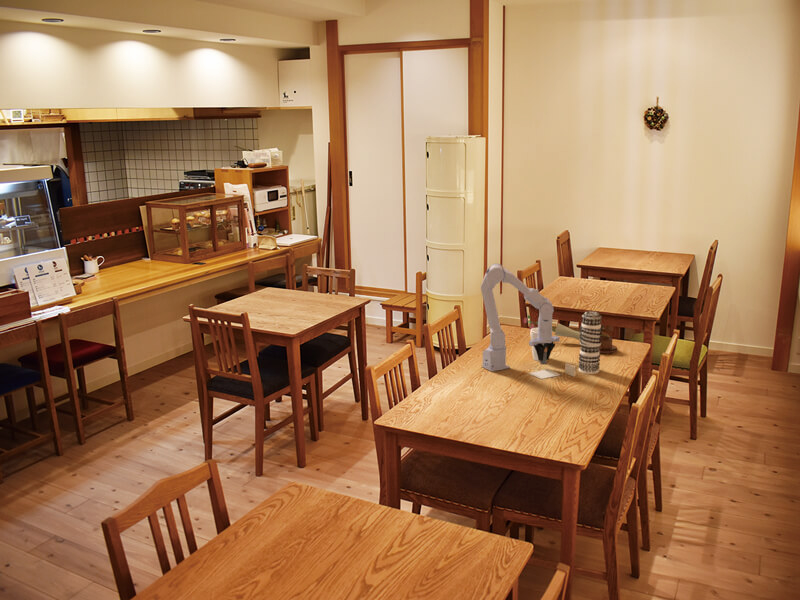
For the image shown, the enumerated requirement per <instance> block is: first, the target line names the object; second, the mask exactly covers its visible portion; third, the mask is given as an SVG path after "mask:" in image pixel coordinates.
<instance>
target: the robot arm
mask: <svg viewBox="0 0 800 600" xmlns="http://www.w3.org/2000/svg"><path fill="white" fill-rule="evenodd" d="M500 282H502V283H504V284H507V283H508V284H511V285H512V286H513V287H514V288H515V289H516V290H518V291H519V292H521V293H522V294H523V298H524V300H525V301H527V302H528V303H529V304H530V305H531V306H533V307H534V308H535V309H537V310H538V312H539V313H538V319H537V324H538V325H537V328H538V338H536V339H533V340H531V339H530V340H529V341H528V346H530V347H532V346H534V347H535V349H536V352H537V355H538V360H540V361H543V354H544V350H545V347H547V361H549V359H550V357H551V354H552V352H553V349H554V348H555V347H556V344H555V342H560V337H561V336H557V335H554V336H553V331H552V330H553V313H554V312H555V310H554V306H553V303H552V301H551V300H550V299H548V297H545V296H544V295H542V294H541V293H540V291H539V289H538V288H533V287H532V288H531V287H530V288H529V287H528V286H527V285H526V284H525V283H524V282H523V281H521V280H520V279H519V278H518V277H517V276H516V275H515V274H513V272H511V271H510V270H509V269H507V268H506V267H503V265H502V264H500V263H493V264H492V265H490V266H489V267H488V268H487V269H486V272H485V274H484V277H483V279H482V282H481V284H480V291H481V294H482V295H481V296H482V299H483V304H484V308H485V313H486V319H487V322H488V326H489V331H490V332H489V333H490V334H489V337H490V342H489V345H488V347H487V348H485V349H484V350H483V352H482V365H481V368H482V367H483V368H484V369H486V370H488V371H490V372H497V371H502V370H507V369H510V368H511V367H510V366H509V365H507V364H506V362H507V361H506V360H507V345H506V334H505V332H504V330H502V326H501V324H500V318H499V314H498V310H497V305H496V304H497V303H496V301H495V295H494V291H493V289H494V288H495V287H496V286H497V284H499V283H500ZM542 344H543V345H544V346H543V345H542ZM540 361H539V362H540Z"/></svg>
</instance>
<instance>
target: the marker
mask: <svg viewBox="0 0 800 600" xmlns="http://www.w3.org/2000/svg"><path fill="white" fill-rule="evenodd" d="M547 361H548V360H547V347H545V350H544V354H543V361H539V364H540V365H547Z"/></svg>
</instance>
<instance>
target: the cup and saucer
mask: <svg viewBox="0 0 800 600" xmlns="http://www.w3.org/2000/svg"><path fill="white" fill-rule="evenodd" d="M600 337H601V338H602V339H600V341H601V345H600V346H599V354H611V353H615V352H616V351H617V350H618V347H617V346H616V345H613V337H611V336H606V335H600Z"/></svg>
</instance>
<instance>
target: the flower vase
mask: <svg viewBox="0 0 800 600" xmlns="http://www.w3.org/2000/svg"><path fill="white" fill-rule="evenodd" d="M529 319H530V320H529ZM523 323H524V324H526V323H528V324H529V325H528V326H529V331H530V330H531V329H532V328H536V327H535V324H536V325H537V326H538V322H534V321H532V320H531V316H530V315H529V314H527V317H524V318H523ZM552 332H554V336H558V337H565V338H573V339H575V340H578V341H580V339H581V338H580V331H578V330H573V329H571V328H570V327H567V326H565V325H563V324H561V323H560V322H558V323H557V324H556V328H555V330H554V329H552ZM581 337H582V336H581Z"/></svg>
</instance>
